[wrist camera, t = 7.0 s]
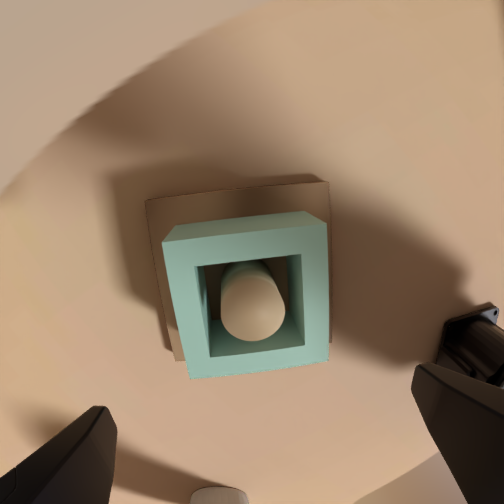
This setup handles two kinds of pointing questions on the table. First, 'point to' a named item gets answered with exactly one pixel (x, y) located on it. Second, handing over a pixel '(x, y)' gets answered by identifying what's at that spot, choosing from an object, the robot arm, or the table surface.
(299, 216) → the teal square frame
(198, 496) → the coffee cup
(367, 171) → the table surface
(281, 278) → the square base with peg
